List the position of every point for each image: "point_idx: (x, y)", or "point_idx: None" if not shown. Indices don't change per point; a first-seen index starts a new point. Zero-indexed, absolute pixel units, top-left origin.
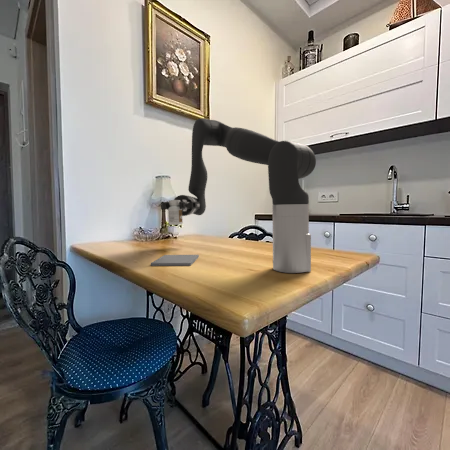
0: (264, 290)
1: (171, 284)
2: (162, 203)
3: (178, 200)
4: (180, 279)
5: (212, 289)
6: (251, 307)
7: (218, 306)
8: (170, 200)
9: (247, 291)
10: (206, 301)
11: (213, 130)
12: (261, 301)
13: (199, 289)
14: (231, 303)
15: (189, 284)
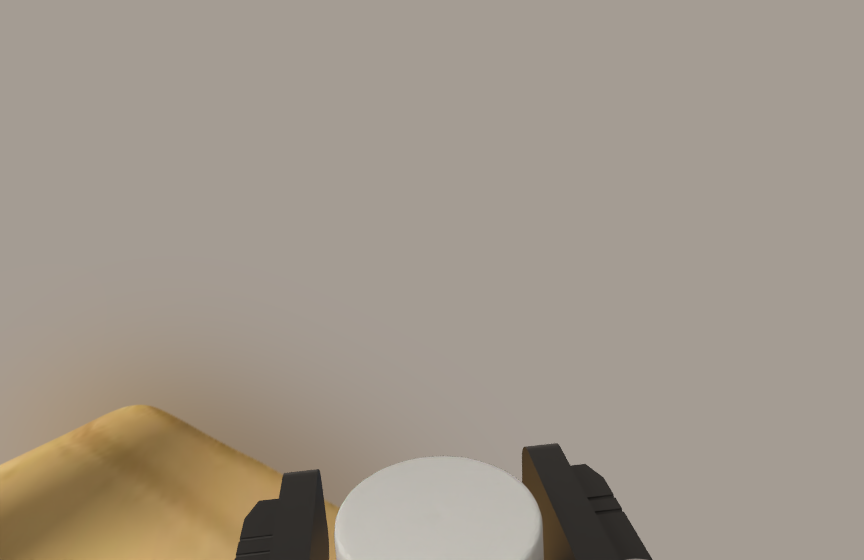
0: (11, 501)
1: None
2: (600, 476)
3: (350, 494)
4: None
5: (173, 488)
6: (106, 423)
7: (176, 418)
8: (480, 461)
9: (69, 489)
10: (200, 431)
11: None
12: (67, 446)
13: (214, 483)
14: (143, 431)
15: None
